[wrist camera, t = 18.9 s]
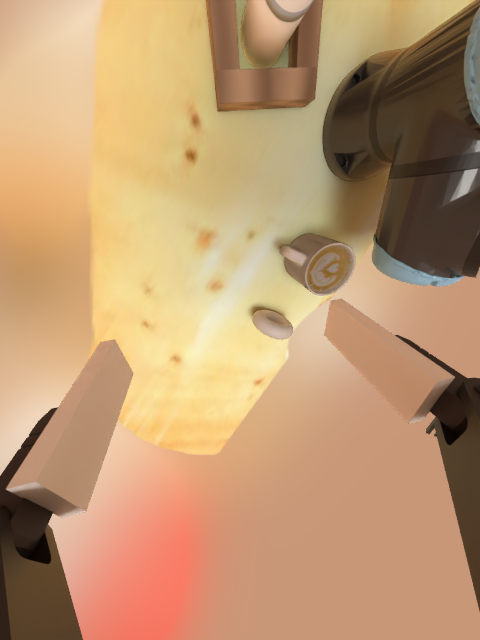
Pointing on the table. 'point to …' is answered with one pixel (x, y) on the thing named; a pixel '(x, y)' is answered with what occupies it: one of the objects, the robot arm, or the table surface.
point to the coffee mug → (319, 263)
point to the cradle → (263, 84)
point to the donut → (272, 324)
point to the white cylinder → (269, 28)
